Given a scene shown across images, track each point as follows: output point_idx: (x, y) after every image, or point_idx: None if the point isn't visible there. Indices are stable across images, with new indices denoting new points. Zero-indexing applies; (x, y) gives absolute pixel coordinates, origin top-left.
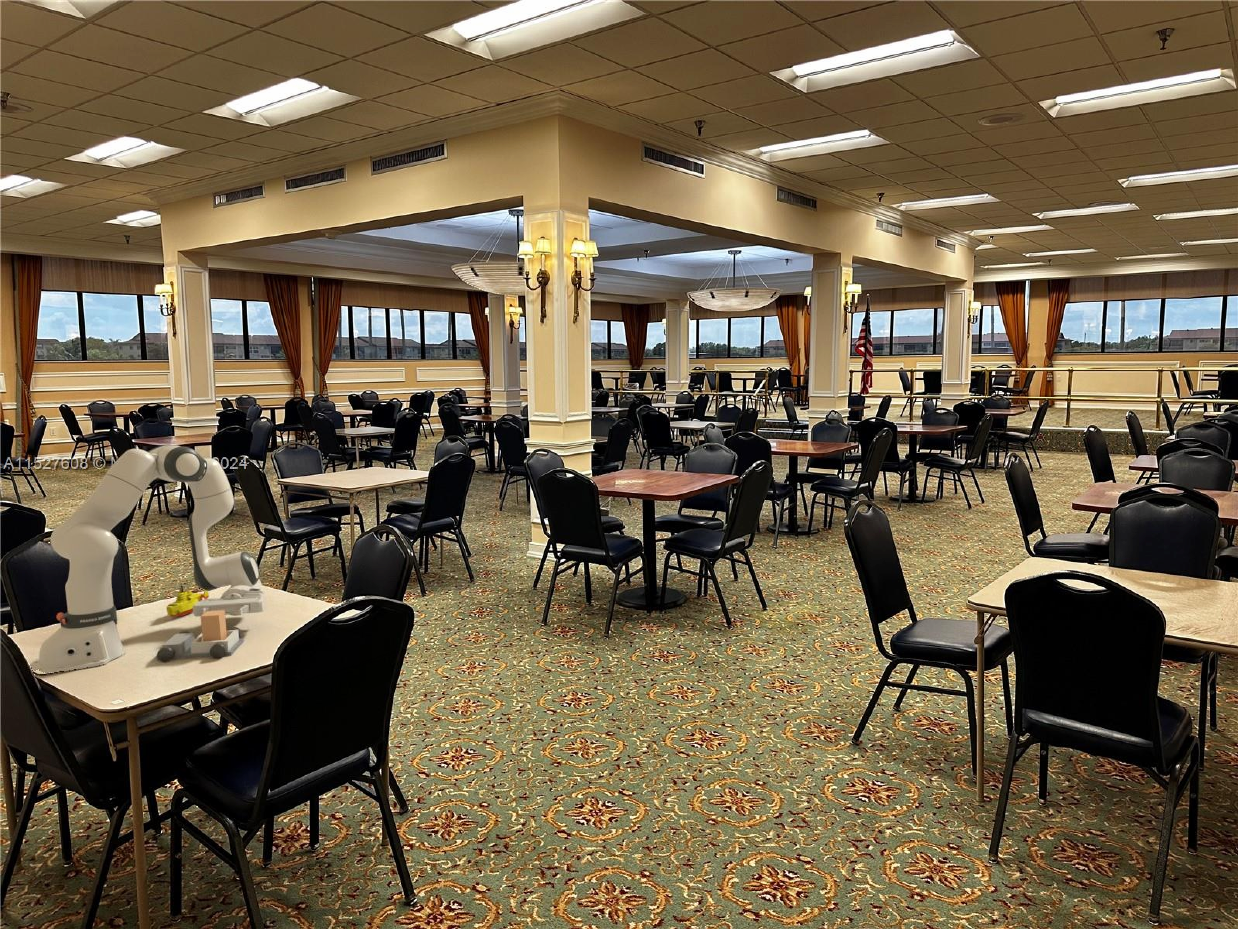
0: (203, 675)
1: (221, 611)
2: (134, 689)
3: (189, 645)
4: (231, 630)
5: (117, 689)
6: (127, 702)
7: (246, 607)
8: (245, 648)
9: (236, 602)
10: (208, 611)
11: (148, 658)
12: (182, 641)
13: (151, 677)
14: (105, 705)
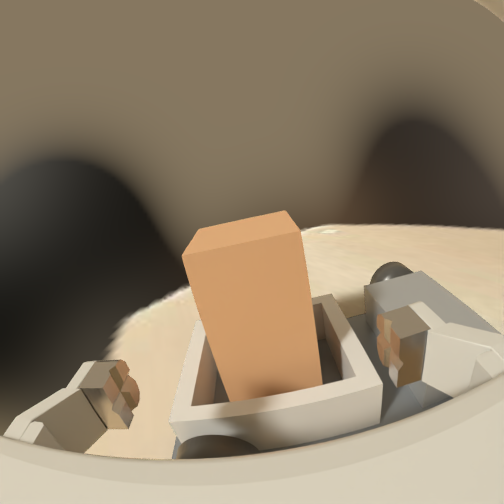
0: None
1: (196, 244)
2: (336, 244)
3: None
4: (205, 414)
5: (366, 240)
6: (312, 233)
7: (36, 414)
8: (160, 405)
9: (74, 467)
10: (282, 231)
11: (471, 308)
12: (380, 297)
13: (346, 264)
14: (336, 226)
